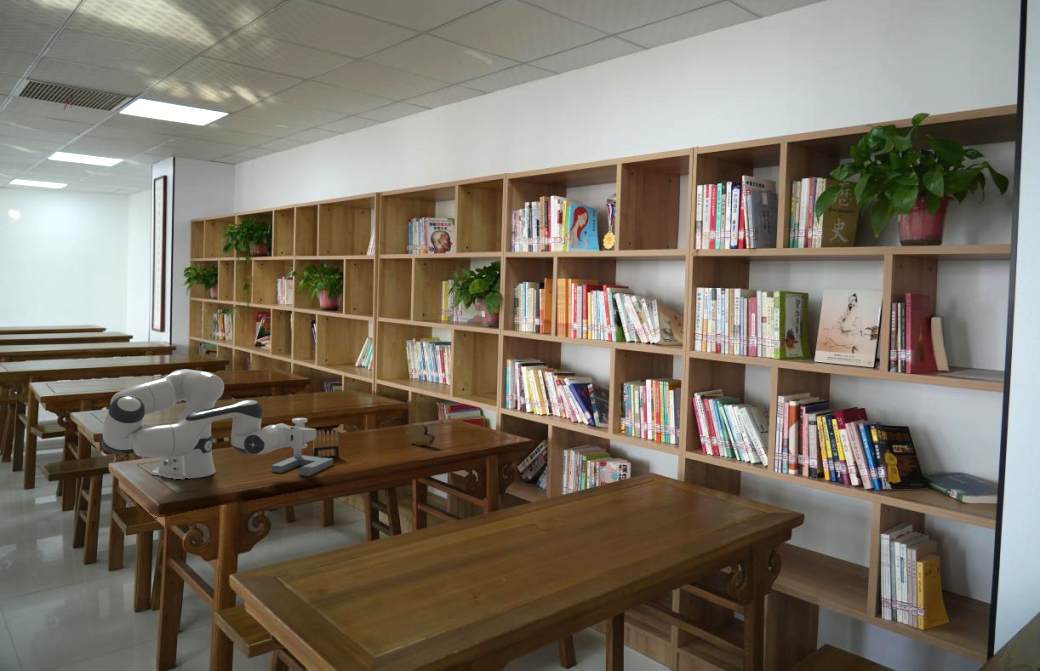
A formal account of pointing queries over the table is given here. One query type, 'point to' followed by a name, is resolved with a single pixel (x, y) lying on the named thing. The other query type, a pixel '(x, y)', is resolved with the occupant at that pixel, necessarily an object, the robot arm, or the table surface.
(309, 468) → the notched board
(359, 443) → the table surface
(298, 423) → the bobbin
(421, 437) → the wooden carving
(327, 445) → the ammunition clip
